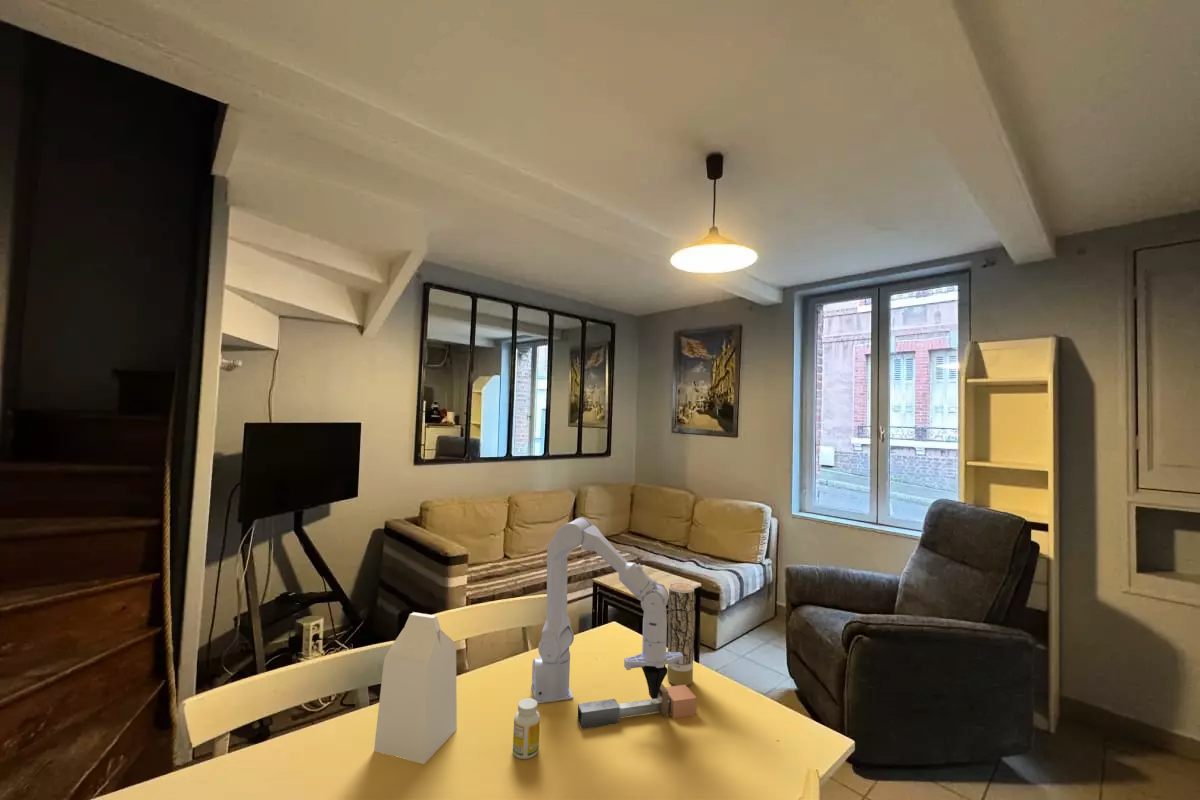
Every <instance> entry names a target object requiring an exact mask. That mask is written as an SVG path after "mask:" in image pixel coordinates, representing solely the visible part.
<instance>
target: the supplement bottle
mask: <svg viewBox="0 0 1200 800" xmlns="http://www.w3.org/2000/svg"><path fill="white" fill-rule="evenodd" d="M540 722H541V715H540V713H539V711H538V704H537V701H536V700H535V699H534V698H531V697H529V698H528V697H527V698H523V699H521V700H519V701H518V704H517V712H516V713H515V715H514V717H513V737H512V754H513V755H514V756H515V757H516V758H518V759H521V760H527V759H531V758H533V757H535V756H536V755H537V754H538V752H539V747H540V725H541V723H540Z"/></svg>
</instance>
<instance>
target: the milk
mask: <svg viewBox="0 0 1200 800" xmlns="http://www.w3.org/2000/svg"><path fill="white" fill-rule="evenodd" d="M383 660H384V661H383V666H382V676H381V685H380V692H379V693H380V694H379V701H378V710H377V711H378V712H377V713H378V714H377V721H376V730H375V737H374V748H373V752H374V751H375V752H374V753H378V752H380V753H379V754H382V753H384V754H383V755H385V754H388V755H387V756H389V755H394V756H398V757H401V758H405V759H407V760H406V761H410V762H414V763H418V764H422V765H425V764H426V763H427V762H428V761H429V760H430V759H431V758H432V757H433V755H435V753H437V751H438V750H440V749H441V747H442V746H443V745H444V744H445V742H447V740H449V739H450V737H451V736H452V735H453V734H454V733H456V731H457V729H458V728H457V727H458V725H457V722H458V720H457V717H458V715H457V711H458V709H457V707H458V706H457V703H458V702H457V700H458V699H457V646H456V643H455V641H454V640H453V639H452V638H451V637H450V636H448V634H447V633H446V632H444V631H443V630H442V628H441V624H440V622H439V619H438V616H437V615H433V614H428V613H421V612H415V611H412V613H409V614H408V618H407V620H406V622H405V624H404V627H403V628H402V630H401V631H400V633H399V634H398V636H397V637H396V638H395V640H394V642H393V643H392V645H391V646H390V647H389V649H388V651H387V653H386V654H385V657H384V659H383ZM401 758H400V759H401ZM405 759H404V760H405Z"/></svg>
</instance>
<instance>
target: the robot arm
mask: <svg viewBox="0 0 1200 800" xmlns="http://www.w3.org/2000/svg"><path fill="white" fill-rule="evenodd" d="M580 545H581V547H580V550H582V551H592V552H595V553H596V554H597V555H598V556H599V557H601V558H602V559H603V560H604V561H605V562H606V563H607V564H608V565H610V566H611V568H613V569H614V570H615V571H616V572H617V574H618V580H619V582H620V583H621V584H622V585H623V586H624V587H625V588H626V589H628V591H629V592H630V593H631V594H632V595H634V597H635V598H636V599H637V600H639V601H640V606H641V609H642V611H643V617H642V644H641V645H642V646H641V647H642V650H641V651H642V652H641V653H639V654H635V655H632V656H629V657H624V659H623V661H624V662H623V666H624V668H625V669H626V671H631V670H632V669H637V668H641V669H642V672H643V675H644V676H645V680H646V684H647V688H648V695H649V696H650V699H657V697H658V693H659V690H660V686H661V684H663V681H664V679H665V678H666V676H667V672H668V667H666V665H668V664H672V663H679V664H683V655H682V654H681V653H680V652H668V651H667V639H668V629H667V628H668V627H667V626H668V624H667V623H668V618H667V617H668V616H667V615H668V614H667V607H666V606H668V604H669V590H668V589H667V588H666V587H665V585H664V584H662V583H660V582H658V581H657V580H656V579H654V580H653V579H652V578H651V577H650V576H649V575H648V574H647V573H646V572H645V571H644V570H643V569H644V567H643V565H642V564H637V563H636V562H632V561H627V560H626V559H625V557H624V556H622V555H621V554H620V552H619V551H618V550H617V549H616V548H615V547H614V545H612V543H610V542H609V540H608V539H607V538H606V537H605V536H604V535H603V534H602V532H601V531H600V529H599V528H598V527H597V526H596V525H595V524H592V522H591V521H590V520H589V519H588V518H586V517H577V518H575V519H574V520H572V521H570V522H567V523H565V524H563V525H562V526H561V527H559V528H557V529H556V530H555V534H554V536H553V538H552V539H551V541H550V542H549V545H548V547H547V551H546V620H545V622H544V625H543V628H542V631H541V639H540V640H539V643H538V647H537V648H538V649H537V650H538V654H539V657H535V658H533V660H532V667H531V668H532V669H531V670H532V671H531V685H530V687H531V688H530V689H531V692H532V696H533V699H535V700H536V701H537V705H539V704H545V703H551V702H558V701H566V700H567V701H568V700H572V699H574V695H573V692H572V690H571V687H570V671H571V670H570V669H571V667H570V666H571V663H570V662H571V652H570V647H571V646H572V644H573V643H574V640H575V636H574V632H573V629H572V626H571V619H570V618H569V616H568V555H569V554H570V553H571V552H572V551H574V549H577V548H578V547H579V546H580Z"/></svg>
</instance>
